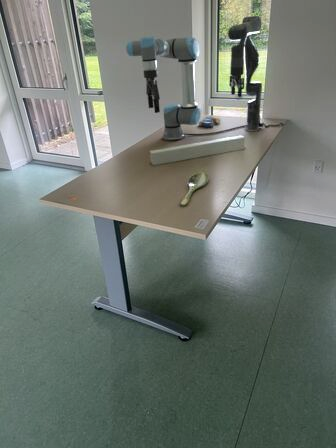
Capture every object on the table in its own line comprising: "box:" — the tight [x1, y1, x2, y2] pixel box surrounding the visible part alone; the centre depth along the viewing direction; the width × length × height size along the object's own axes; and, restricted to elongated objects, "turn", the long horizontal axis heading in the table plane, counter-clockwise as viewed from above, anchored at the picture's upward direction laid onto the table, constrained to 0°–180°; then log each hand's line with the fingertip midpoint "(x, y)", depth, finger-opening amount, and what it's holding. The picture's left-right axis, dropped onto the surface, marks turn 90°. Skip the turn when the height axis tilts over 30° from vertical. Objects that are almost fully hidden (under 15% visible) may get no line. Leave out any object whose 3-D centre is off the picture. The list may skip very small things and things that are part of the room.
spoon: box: [180, 171, 210, 207], centre depth 170 cm, size 35×11×2 cm, turn 159°
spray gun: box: [198, 116, 221, 128], centre depth 272 cm, size 21×4×15 cm
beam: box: [149, 134, 246, 166], centre depth 210 cm, size 61×5×8 cm, turn 107°
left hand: (154, 110), depth 190 cm, fingers open, 13 cm apart
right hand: (236, 95), depth 200 cm, fingers open, 8 cm apart
